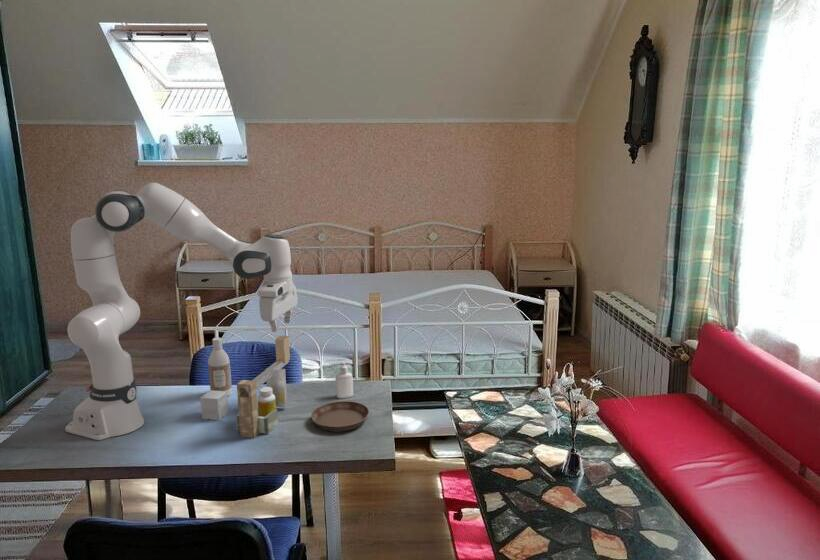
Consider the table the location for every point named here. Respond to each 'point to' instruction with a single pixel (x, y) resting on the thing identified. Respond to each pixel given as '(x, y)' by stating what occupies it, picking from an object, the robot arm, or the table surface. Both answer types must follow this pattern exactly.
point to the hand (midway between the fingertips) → (281, 326)
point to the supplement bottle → (266, 401)
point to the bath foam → (219, 368)
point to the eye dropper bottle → (344, 383)
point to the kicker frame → (252, 412)
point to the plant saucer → (340, 416)
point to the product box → (214, 405)
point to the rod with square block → (276, 372)
